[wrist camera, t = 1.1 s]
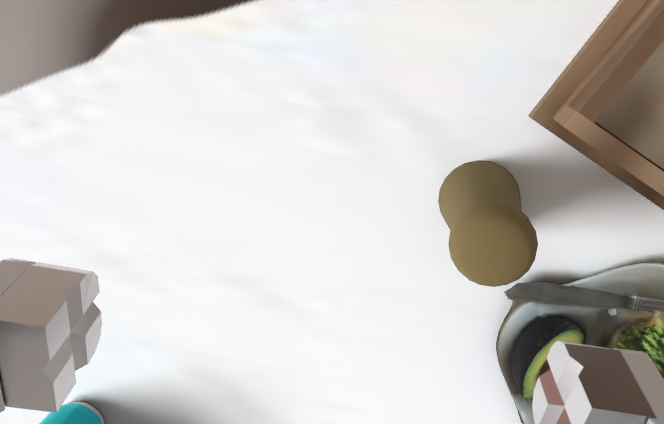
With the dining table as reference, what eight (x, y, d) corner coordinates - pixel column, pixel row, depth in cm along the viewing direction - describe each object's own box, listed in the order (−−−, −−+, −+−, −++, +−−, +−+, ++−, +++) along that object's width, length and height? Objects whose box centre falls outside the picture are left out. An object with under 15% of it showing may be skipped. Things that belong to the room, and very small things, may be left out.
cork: (536, 205, 43) (572, 264, 33) (470, 251, 45) (484, 319, 35) (487, 144, 42) (507, 184, 32) (422, 193, 44) (421, 246, 34)
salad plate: (731, 207, 41) (766, 229, 37) (782, 408, 46) (819, 449, 41) (470, 286, 46) (475, 314, 42) (537, 461, 51) (548, 502, 46)
